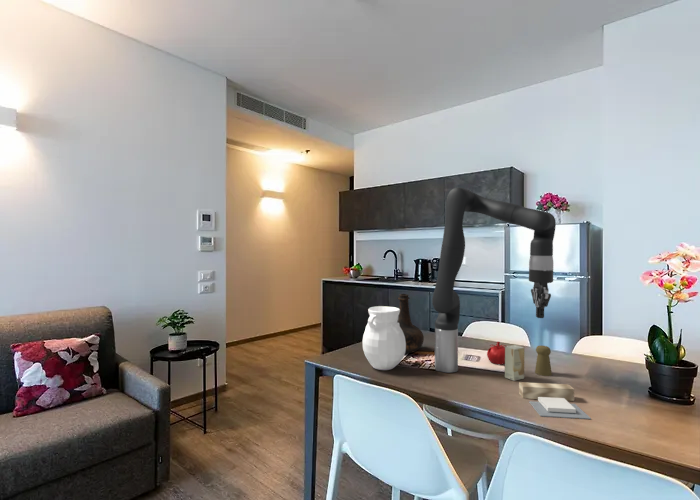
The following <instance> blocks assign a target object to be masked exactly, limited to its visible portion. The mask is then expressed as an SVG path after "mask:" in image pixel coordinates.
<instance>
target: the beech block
mask: <svg viewBox="0 0 700 500" xmlns="http://www.w3.org/2000/svg"><path fill="white" fill-rule="evenodd" d="M518 393H519V396H521V398H522V399H526V400H527V399H528V400H538V397H551V398H565V399H566V400H567V401H568V402H575V388H574V387H572V386H571V385H570V384H566V383H565V384H564V383H547V382H546V383H545V382H527V381H526V382H522V381H519V382H518Z"/></svg>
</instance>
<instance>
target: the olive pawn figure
mask: <svg viewBox="0 0 700 500" xmlns="http://www.w3.org/2000/svg"><path fill="white" fill-rule="evenodd" d="M535 351H536V353H537V354H536V355H537V356H536V361H535V369H534V373H535V374H536V375H539V376H543V377H551V376H552V375H553V372H552V366H551V359H550V355H551V353H552V352H551V351H552V350H551V348H550V347H549V346H547V345H537V346H536V348H535Z"/></svg>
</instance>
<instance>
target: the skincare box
mask: <svg viewBox="0 0 700 500" xmlns="http://www.w3.org/2000/svg"><path fill="white" fill-rule="evenodd" d="M506 346H507V347H506ZM506 346H504V347H505V364H504V378H505V379H509V380H511V381H513V382H514V381H520V380H523V379H525V347H524V346H520V345H518V344H514V345H506Z"/></svg>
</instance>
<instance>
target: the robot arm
mask: <svg viewBox="0 0 700 500" xmlns="http://www.w3.org/2000/svg"><path fill="white" fill-rule="evenodd" d="M465 212H467V213H477V214H480V215H481V214H482V215H486V216H488V217H491V218H493V219H496V220H499V221H502V222H505V223H508V224H512V225H518V226H520V227H524V228H526V229H529V230H532V231H533V238H532V240H531V241H530V247H529V249H530V250H529V261H528V281H529V282H531V283H533V286H532V288H531V289H530V292H531V296H532V301H533V303H532V304H533V305H534V306H535V317H536V318H537V319H544V318H545V308H546V307H548V305H549V302H550V299H551V298H552V295H551V293H549V289H550V288H549V286H548V284H551V283H554V244H553V243H554V238H555V235H556V234H555V233H556V227H557V226H556V218H555V216H554V215H553V214H552V213H550V212H547V211H543V210H539V209H534V208H530V207H526V206H523V205H519V204H515V203H511V202H506V201H503V200H497V199H496V200H495V199H490V198H488V197H484V196H481V195H479V194H477V193H475V192H473V191H472V190H470V189H467V188H463V187H457V186H456V187H454V188H452V189H451V190H449V192H448V193H447V197H446V203H445V219H444V220H445V222H444V228H443V229H444V230H443V236H442V243H441V249H440V254H439V255H440V256H439V262H438V263H439V264H438V269H437V279H436V282H435V286H434V291H433V295H432V297H431V298H432V299H431V302H432V303H431V304H432V307H433V308H434V310H435V311H436V312H437V313H438V314H437V318H436V320H435V322H434V368H435V372H436V371H437V372H440V373H451V374H452V373H456V372H458V371H459V336H458V335H459V329H458V327H459V322H460V315H461V314H460V312H461V311H460V309H461V303H460V302H461V301H460V296H459V294H458V293H457V292H456V291H455V290H454V287H455V283H456V282H455V281H456V279H457V276H458V274H459V271H460V269H461V267H462V265H463V261H464V257H465V251H466V250H465V249H466V239H465V233H464V227H463V225H464V223H463V222H464V215H465Z"/></svg>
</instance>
